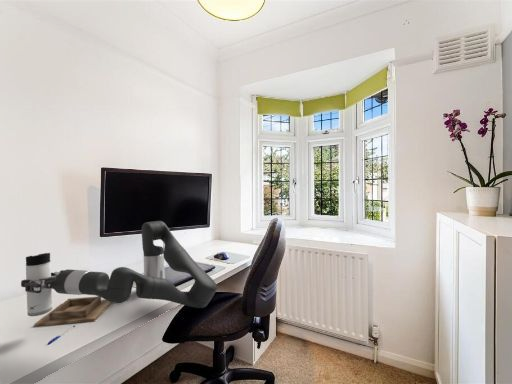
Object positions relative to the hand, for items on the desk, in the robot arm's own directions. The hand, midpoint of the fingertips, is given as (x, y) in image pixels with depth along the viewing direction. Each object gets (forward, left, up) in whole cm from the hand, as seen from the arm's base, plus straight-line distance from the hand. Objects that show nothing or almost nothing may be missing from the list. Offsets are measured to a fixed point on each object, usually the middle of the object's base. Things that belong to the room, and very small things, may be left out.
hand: (33, 279), depth 83 cm
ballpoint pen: (-9, +2, -20) cm, 22 cm away
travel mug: (-2, +1, -11) cm, 11 cm away
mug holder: (-6, -14, -19) cm, 24 cm away
